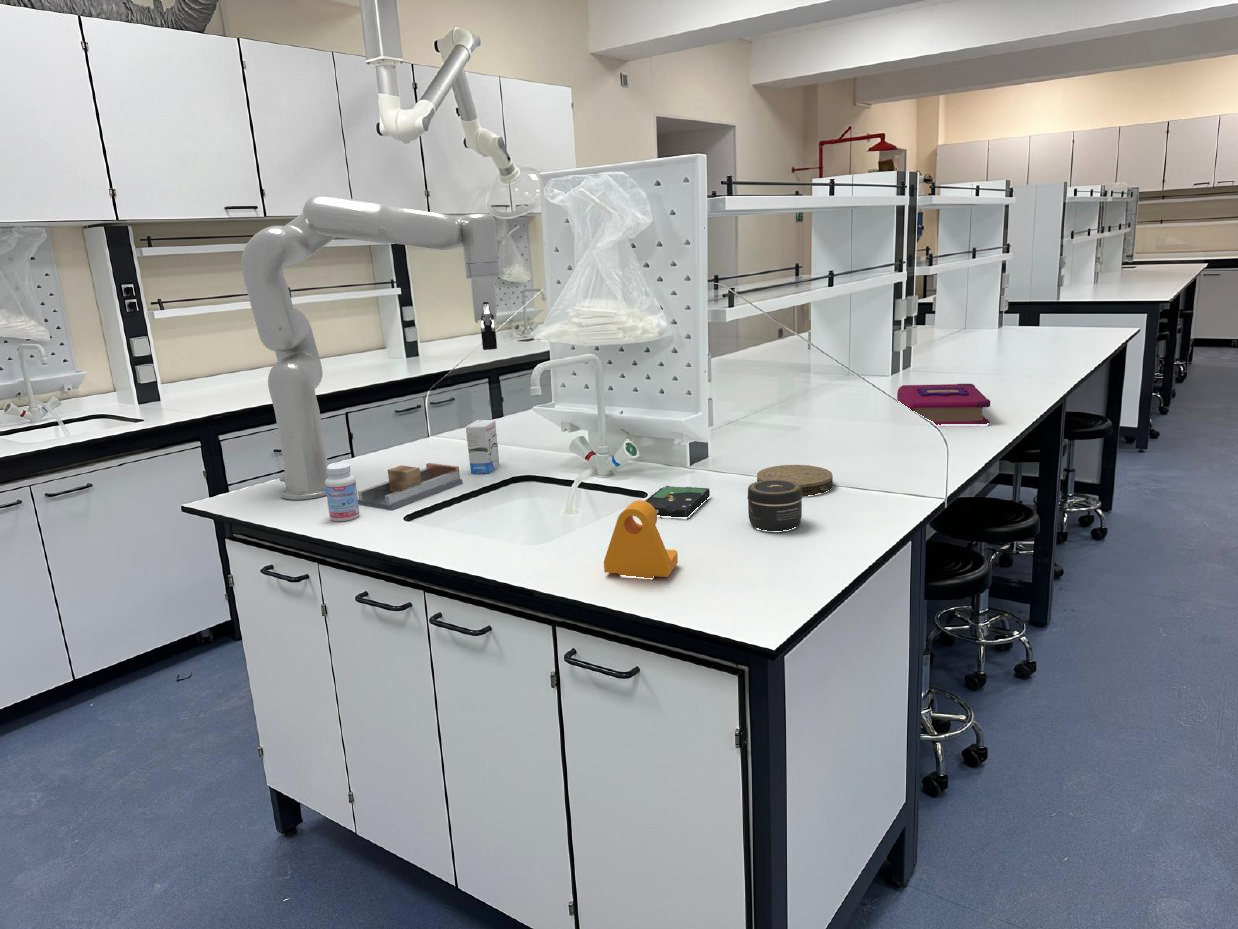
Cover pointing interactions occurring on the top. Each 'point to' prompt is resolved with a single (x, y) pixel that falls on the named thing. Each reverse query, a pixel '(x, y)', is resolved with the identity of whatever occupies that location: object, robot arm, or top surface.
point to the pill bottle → (341, 493)
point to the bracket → (638, 545)
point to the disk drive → (678, 500)
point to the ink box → (482, 446)
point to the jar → (775, 504)
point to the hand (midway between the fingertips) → (489, 346)
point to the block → (403, 477)
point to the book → (945, 402)
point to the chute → (412, 488)
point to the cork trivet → (800, 477)
